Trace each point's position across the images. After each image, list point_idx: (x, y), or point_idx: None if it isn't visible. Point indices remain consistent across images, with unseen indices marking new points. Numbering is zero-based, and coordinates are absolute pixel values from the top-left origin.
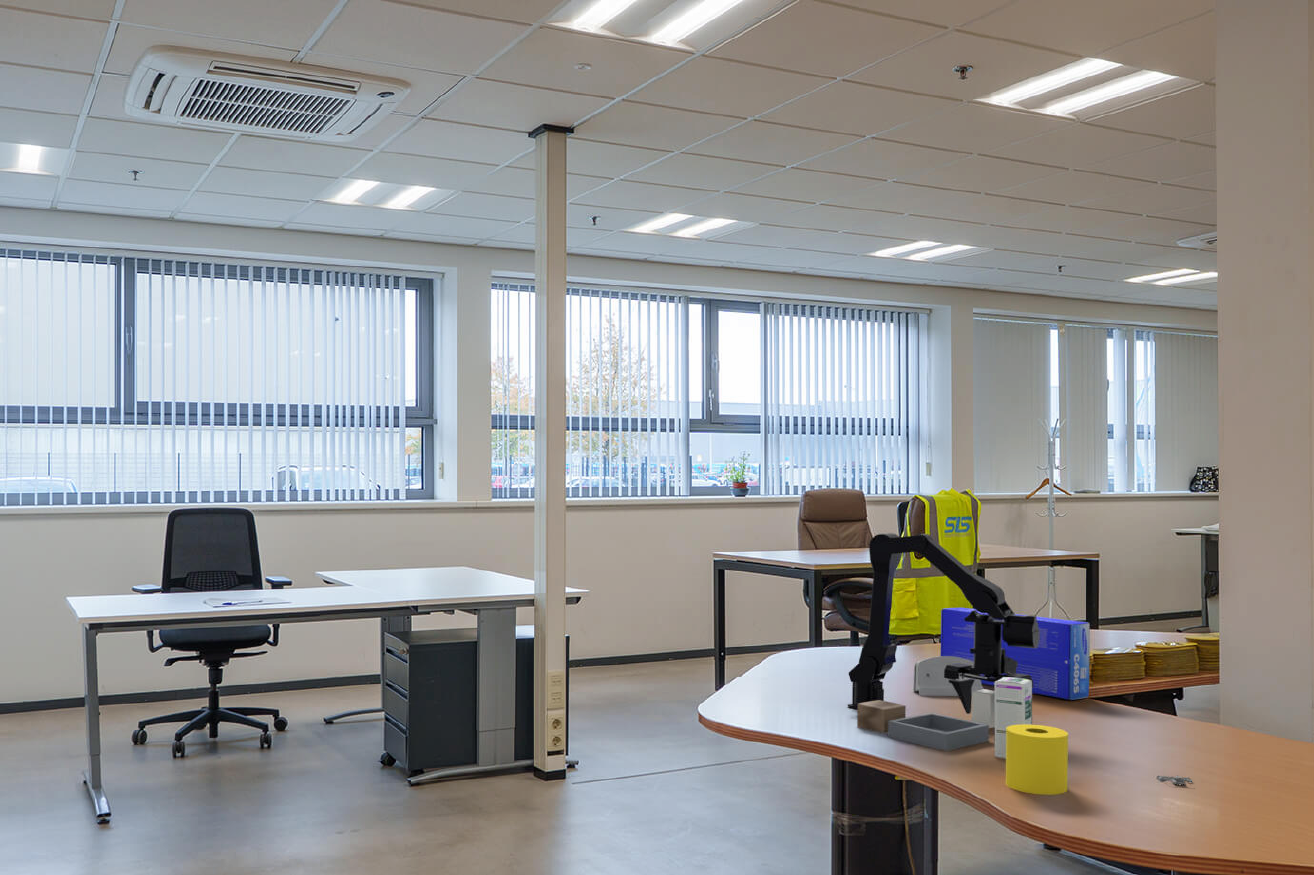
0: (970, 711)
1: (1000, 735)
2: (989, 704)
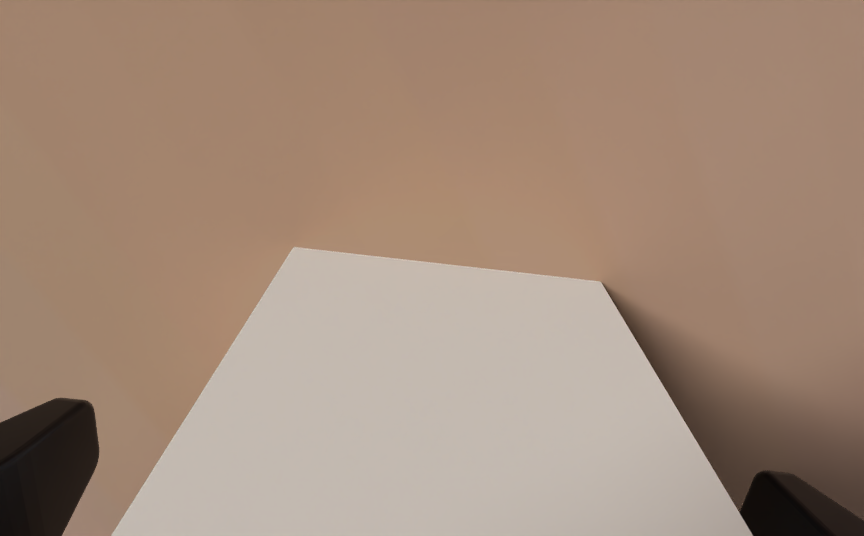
0: (77, 420)
1: None
2: None
